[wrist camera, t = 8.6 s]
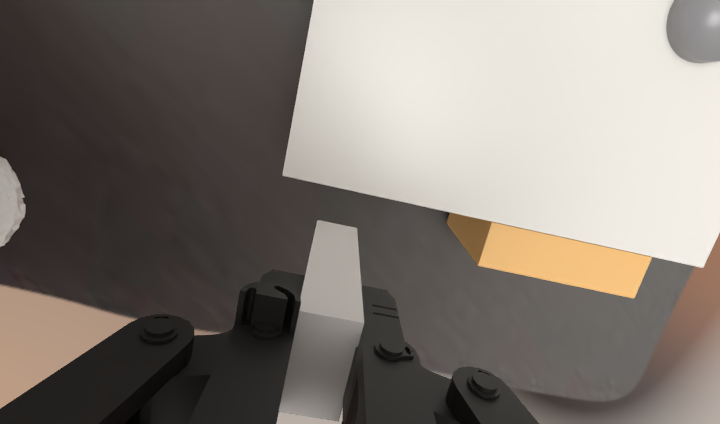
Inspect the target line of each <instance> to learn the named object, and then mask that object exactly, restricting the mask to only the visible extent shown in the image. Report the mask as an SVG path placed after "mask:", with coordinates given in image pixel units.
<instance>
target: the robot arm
mask: <svg viewBox="0 0 720 424" xmlns="http://www.w3.org/2000/svg"><path fill="white" fill-rule="evenodd" d="M342 407H343V421H342V424H539V423H538V422H537V421H536V420H535V418H534V417H533V416H532V415H531V413H530V412H529V411H528V410H527V409H526V407H525V406H524V405H523V404H522V403H521V402H520V400H519V399H518V398H517V397H516V395H515V394H514V393H513V392H512V391H511V389H510V388H509V387H508V386H507V385H506V384H505V383H504V382H503V381H502V380H501V379H499V378H498V377H496V376H494V375H493V374H491V373H490V372H488V371H486V370H485V371H484V370H483V369H480V368H474V367H461V368H458V369H457V370H456V371H455V372H454V373H453V376H452V379H448V378H446V377H443V376H441V375H438V374H436V373H433V372H431V371H429V370H427V369H425V368H424V367H422V366H421V364H420V360H419V357H418V355H417V353H416V351H415V349H414V348H412V347H411V346H410V345H409V344H408V343H406V342H405V341H404V337H403V333H402V329H401V324H400V320H399V316H398V311H397V307H396V303H395V299H394V298H393V297H392V296H391V295H390V294H389V293H388V292H387V290H382V289H377V288H372V287H367V286H362V285H361V274H360V262H359V249H358V236H357V228H355V227H350V226H345V225H340V224H335V223H330V222H325V221H320V220H317V224H316V229H315V233H314V238H313V242H312V247H311V251H310V256H309V260H308V265H307V270H306V274H305V276H303V275H298V274H293V273H287V272H282V271H277V270H272V271H270V272H268V273H267V274H265V275H263V276H262V278H261V281H260V282H255V283H251V284H249V285H246V286H244V287H243V288H242V289H241V290H240V294H239V300H238V307H237V313H236V319H235V325H234V327H233V329H232V330H230V331H228V332H225V333H221V334H215V335H196V336H194V327H193V326H192V325H191V324H190V323H189V322H188V321H186V320H184V319H182V318H180V317H177V316H172V315H164V314H163V315H161V314H159V315H151V316H146V317H141V318H139V319H137V320H135V321H133V322H131V323H129V324H127V325H126V326H124V327H123V328H121V329H120V330H118V331H117V332H115V333H114V334H112V335H111V336H109V337H108V338H106V339H105V340H104V341H102V342H100V343H99V344H97V345H96V346H94V347H93V348H91V349H90V350H88V351H87V352H85V353H84V354H82V355H81V356H79V357H78V358H76V359H75V360H73V361H72V362H70V363H69V364H67V365H66V366H64V367H63V368H61V369H60V370H58V371H57V372H55V373H54V374H52V375H51V376H49V377H48V378H46V379H45V380H43V381H42V382H40V383H39V384H37V385H36V386H34V387H33V388H31V389H30V390H28V391H27V392H25V393H24V394H22V395H21V396H19V397H17V398H16V399H14V400H13V401H11V402H10V403H8V404H7V405H5V406H4V407H2V408H1V409H0V424H276V422H277V417H278V412H283V413H289V414H295V415H301V416H308V417H315V418H320V419H326V420H333V421H339V418H340V414H341V411H342Z"/></svg>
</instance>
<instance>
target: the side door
mask: <svg viewBox="0 0 720 424" xmlns="http://www.w3.org/2000/svg"><path fill="white" fill-rule="evenodd" d="M447 225H448V226H449V228H450V229H451V230H452V231H453V233H454V234H455V235H456V237H457V238H458V239H459V241H460V242H461V243H462V245H463V246H464V247H465V249H466V250H467V251H468V253H469V254H470V255H471V257H472V258H473V259H474V261H475V262H476V263H477V265H478V266H482V267H487V268H492V269H497V270H501V271H506V272H511V273H516V274H520V275H525V276H530V277H535V278H539V279H544V280H549V281H554V282H558V283H563V284H568V285H573V286H577V287H582V288H587V289H591V290H596V291H601V292H606V293H610V294H615V295H620V296H625V297H629V298H635V295H636V293H637V291H638V288H639V286H640V284H641V282H642V279H643V277H644V275H645V272H646V270H647V268H648V265H649V263H650V261H651V259H652V257H650V256H647V255H642V254H638V253H633V252H629V251H624V250H620V249H615V248H610V247H606V246H601V245H597V244H592V243H588V242H583V241H579V240H574V239H569V238H565V237H560V236H556V235H551V234H547V233H542V232H537V231H533V230H528V229H524V228H519V227H515V226H510V225H506V224H501V223H496V222H492V221H487V220H483V219H478V218H474V217H469V216H464V215H460V214H455V213H451V212H450V213H449V217H448V220H447Z"/></svg>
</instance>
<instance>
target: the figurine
mask: <svg viewBox="0 0 720 424" xmlns="http://www.w3.org/2000/svg"><path fill="white" fill-rule="evenodd" d="M24 197H25V196H24V195H23V193H22V190H21V184H20V182H19V180H18V178H17V176H16V174H15V172H14V171H13V170H12V167H11V166H10V165H9V163H8V161H7V160H6V159H5V158H2V157H1V156H0V246H4V245H5V243H7V242H8V241H9V239H10V238H11V236H12V235H13V233H14V232H15V231H16V230H17V229H18V228H19V225H20V223H21V220H22V219H23V218H24V217H25V204H24V203H23V198H24Z"/></svg>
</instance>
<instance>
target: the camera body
mask: <svg viewBox="0 0 720 424" xmlns="http://www.w3.org/2000/svg"><path fill="white" fill-rule="evenodd" d="M282 176H287V177H291V178H296V179H300V180H305V181H309V182H314V183H318V184H323V185H328V186H332V187H337V188H341V189H346V190H350V191H355V192H360V193H364V194H369V195H373V196H378V197H382V198H387V199H391V200H396V201H401V202H405V203H410V204H414V205H419V206H423V207H428V208H433V209H437V210H442V211H446V212H451V213H455V214H460V215H464V216H469V217H474V218H478V219H483V220H487V221H492V222H496V223H501V224H506V225H510V226H515V227H519V228H524V229H528V230H533V231H537V232H542V233H547V234H551V235H556V236H560V237H565V238H569V239H574V240H579V241H583V242H588V243H592V244H597V245H601V246H606V247H610V248H615V249H620V250H624V251H629V252H633V253H638V254H642V255H647V256H651V257H656V258H661V259H665V260H670V261H674V262H679V263H683V264H688V265H693V266H697V267H702V268H703V267H704V265H705V262H706V260H707V258H708V256H709V254H710V252H711V250H712V247H713V245H714V243H715V241H716V239H717V237H718V235H719V233H720V0H314V3H313V9H312V14H311V20H310V25H309V31H308V36H307V42H306V47H305V53H304V58H303V64H302V69H301V75H300V80H299V86H298V92H297V97H296V103H295V108H294V114H293V119H292V125H291V130H290V136H289V141H288V147H287V152H286V158H285V163H284V169H283V175H282Z"/></svg>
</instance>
